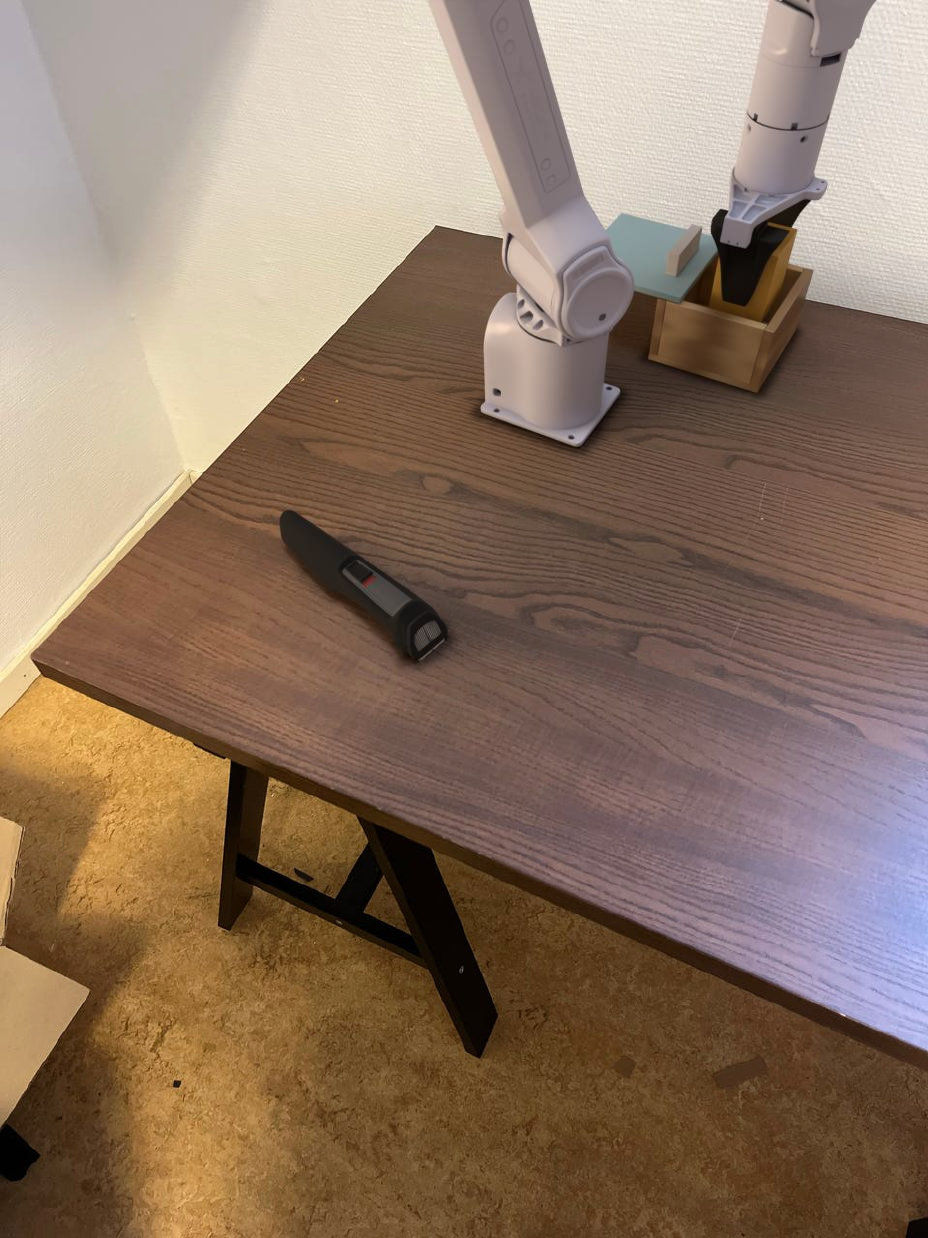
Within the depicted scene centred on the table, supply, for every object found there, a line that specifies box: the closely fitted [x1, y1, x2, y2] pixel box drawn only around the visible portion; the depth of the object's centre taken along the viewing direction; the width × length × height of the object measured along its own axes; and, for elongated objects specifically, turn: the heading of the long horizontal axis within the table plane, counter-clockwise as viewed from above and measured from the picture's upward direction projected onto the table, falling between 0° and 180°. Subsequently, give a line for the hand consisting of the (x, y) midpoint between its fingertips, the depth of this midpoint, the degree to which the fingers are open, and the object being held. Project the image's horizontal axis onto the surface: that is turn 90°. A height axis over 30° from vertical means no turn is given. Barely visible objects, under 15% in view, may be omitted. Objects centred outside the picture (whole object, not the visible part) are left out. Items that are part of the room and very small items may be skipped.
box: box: [648, 254, 814, 394], centre depth 75 cm, size 10×10×6 cm
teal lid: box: [605, 212, 718, 303], centre depth 74 cm, size 10×10×3 cm
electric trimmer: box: [278, 509, 449, 662], centre depth 61 cm, size 4×16×3 cm, turn 45°
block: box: [709, 222, 798, 323], centre depth 71 cm, size 5×5×6 cm
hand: (745, 285), depth 72 cm, fingers closed on block, 4 cm apart
